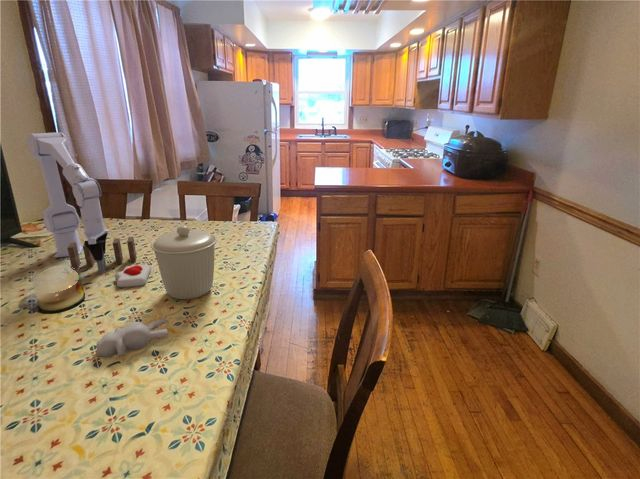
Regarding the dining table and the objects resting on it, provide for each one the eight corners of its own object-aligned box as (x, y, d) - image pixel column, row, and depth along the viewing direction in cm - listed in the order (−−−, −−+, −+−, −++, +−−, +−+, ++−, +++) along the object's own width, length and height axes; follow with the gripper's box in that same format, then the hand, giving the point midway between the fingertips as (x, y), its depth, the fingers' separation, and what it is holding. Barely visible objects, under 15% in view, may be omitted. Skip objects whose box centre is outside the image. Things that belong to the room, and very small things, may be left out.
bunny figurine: (94, 329, 90) (161, 308, 96) (101, 347, 92) (166, 325, 98) (93, 352, 82) (166, 327, 88) (101, 370, 84) (171, 345, 90)
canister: (231, 283, 121) (227, 220, 114) (197, 311, 105) (189, 240, 98) (184, 274, 127) (177, 214, 119) (144, 300, 111) (133, 231, 103)
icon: (118, 261, 126) (150, 259, 129) (120, 273, 128) (152, 270, 130) (108, 277, 115) (143, 274, 117) (110, 290, 117) (145, 287, 119)
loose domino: (99, 273, 126) (94, 251, 124) (101, 267, 131) (97, 246, 128) (104, 273, 127) (100, 251, 124) (106, 267, 131) (102, 245, 129)
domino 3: (116, 264, 134) (112, 243, 131) (118, 259, 138) (114, 238, 135) (121, 263, 134) (117, 242, 131) (123, 258, 139) (119, 238, 136)
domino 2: (87, 267, 131) (82, 246, 128) (90, 262, 135) (85, 241, 132) (92, 267, 131) (88, 245, 128) (95, 261, 136) (90, 240, 133)
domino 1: (72, 269, 129) (67, 247, 126) (75, 263, 133) (70, 242, 131) (77, 269, 130) (72, 247, 127) (80, 263, 134) (75, 242, 131)
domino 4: (130, 262, 135) (127, 241, 132) (131, 257, 140) (128, 237, 137) (135, 262, 136) (132, 241, 133) (136, 257, 140) (133, 236, 137)
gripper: (103, 223, 117) (110, 263, 122) (109, 211, 130) (116, 248, 135) (76, 225, 115) (85, 266, 120) (85, 212, 128) (93, 250, 132)
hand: (100, 257), depth 127 cm, fingers closed on loose domino, 5 cm apart
